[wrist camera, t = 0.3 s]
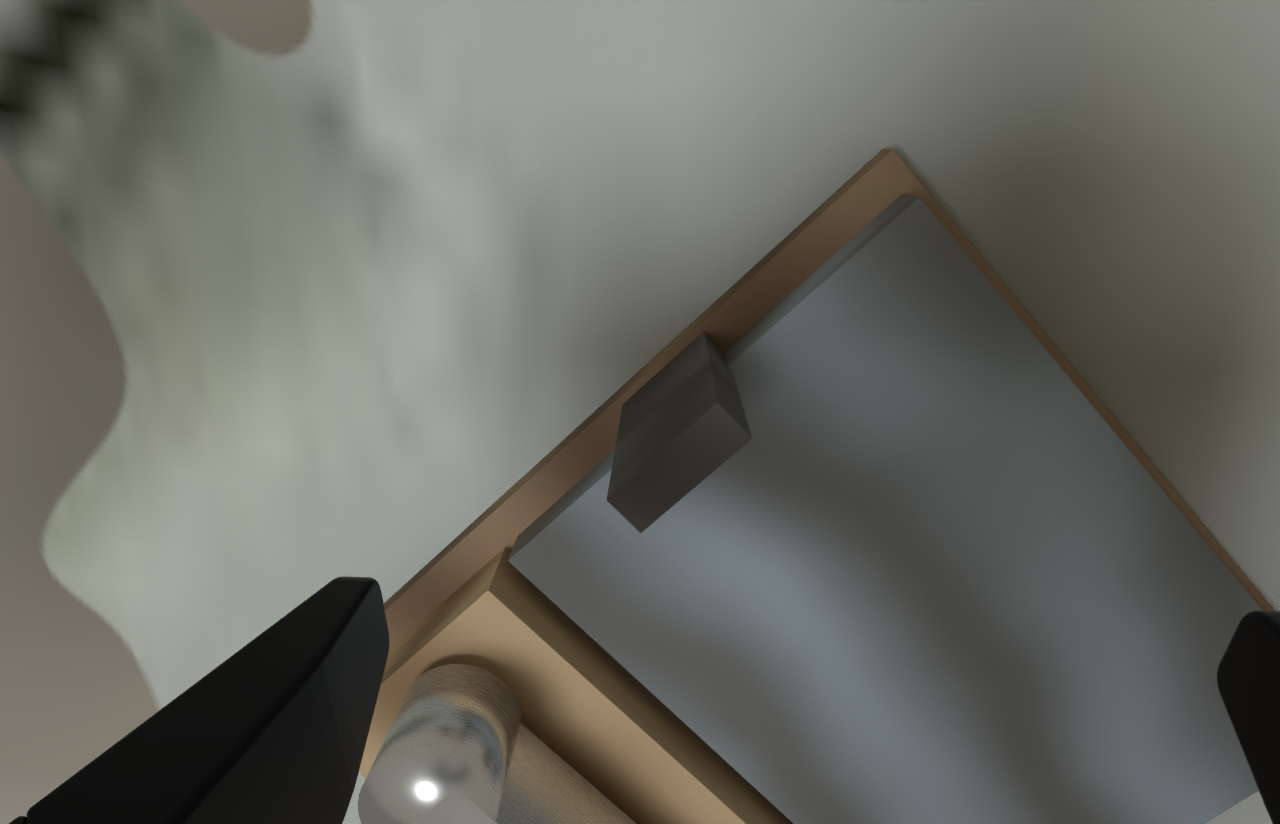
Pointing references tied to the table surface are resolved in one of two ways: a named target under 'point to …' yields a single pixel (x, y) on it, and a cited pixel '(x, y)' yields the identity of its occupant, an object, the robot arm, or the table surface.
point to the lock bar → (473, 761)
